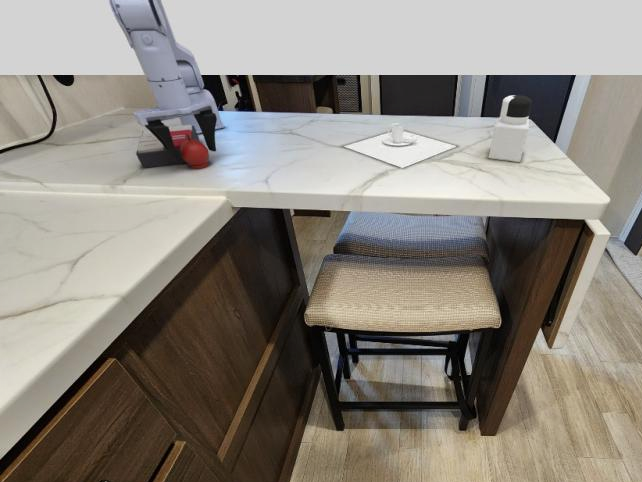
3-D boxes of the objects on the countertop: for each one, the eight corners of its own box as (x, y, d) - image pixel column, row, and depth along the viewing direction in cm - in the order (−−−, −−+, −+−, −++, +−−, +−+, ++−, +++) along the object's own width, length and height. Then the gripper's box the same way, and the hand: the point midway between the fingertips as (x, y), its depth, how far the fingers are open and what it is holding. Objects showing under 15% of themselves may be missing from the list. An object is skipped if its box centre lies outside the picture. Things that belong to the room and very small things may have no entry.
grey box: (133, 150, 67) (140, 126, 76) (144, 171, 70) (150, 145, 79) (192, 143, 70) (192, 121, 80) (200, 163, 73) (200, 140, 83)
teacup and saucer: (422, 142, 83) (423, 125, 81) (400, 150, 79) (401, 132, 76) (397, 135, 88) (397, 118, 85) (375, 142, 83) (375, 124, 81)
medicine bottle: (522, 152, 79) (536, 94, 71) (520, 162, 74) (535, 102, 66) (492, 148, 81) (503, 92, 73) (488, 158, 76) (499, 98, 68)
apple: (205, 159, 74) (193, 128, 69) (217, 165, 71) (206, 133, 67) (182, 166, 71) (168, 134, 66) (193, 172, 68) (180, 139, 64)
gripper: (130, 87, 54) (168, 169, 64) (213, 76, 63) (237, 150, 72) (114, 82, 57) (152, 161, 67) (195, 72, 66) (219, 143, 75)
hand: (195, 155), depth 70 cm, fingers open, 7 cm apart
